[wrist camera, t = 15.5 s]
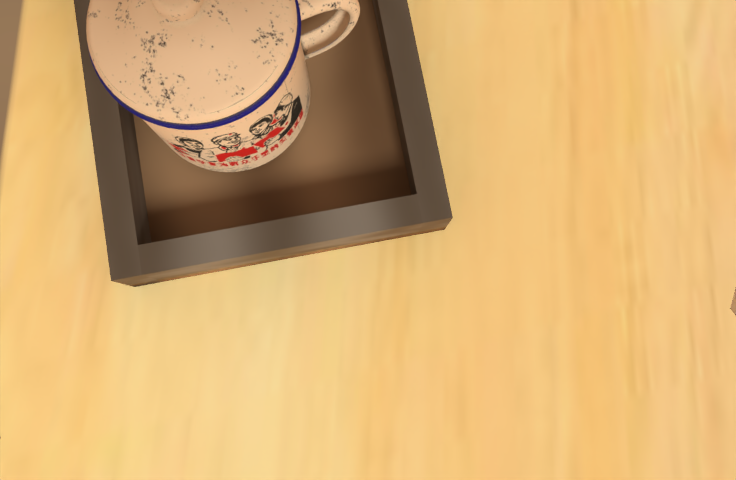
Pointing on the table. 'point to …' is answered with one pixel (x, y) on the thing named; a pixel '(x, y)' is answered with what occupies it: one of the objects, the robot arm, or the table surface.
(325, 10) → the teacup with lid
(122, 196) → the tray
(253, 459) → the table surface
